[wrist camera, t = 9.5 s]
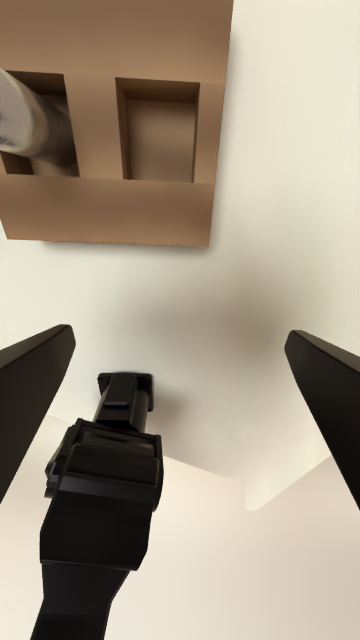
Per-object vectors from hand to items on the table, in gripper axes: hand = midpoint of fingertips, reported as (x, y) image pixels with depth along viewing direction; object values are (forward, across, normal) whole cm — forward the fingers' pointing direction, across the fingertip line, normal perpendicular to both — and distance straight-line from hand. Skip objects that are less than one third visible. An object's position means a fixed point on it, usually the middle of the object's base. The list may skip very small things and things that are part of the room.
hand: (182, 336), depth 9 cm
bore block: (+12, +5, -8) cm, 15 cm away
